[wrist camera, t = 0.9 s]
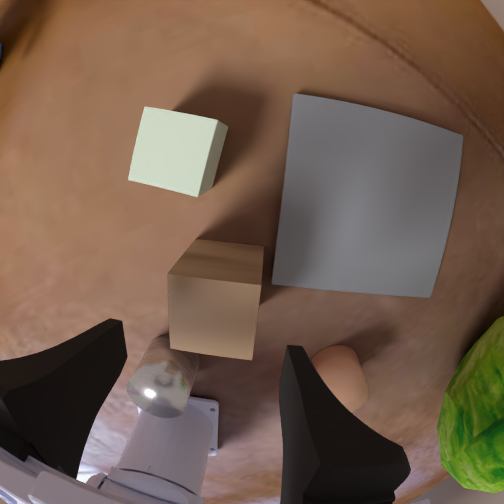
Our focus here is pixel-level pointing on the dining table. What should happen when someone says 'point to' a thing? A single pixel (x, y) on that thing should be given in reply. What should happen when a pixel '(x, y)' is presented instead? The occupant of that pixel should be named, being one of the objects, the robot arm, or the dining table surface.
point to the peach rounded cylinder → (342, 375)
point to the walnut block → (215, 298)
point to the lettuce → (476, 415)
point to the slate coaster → (364, 199)
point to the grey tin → (163, 379)
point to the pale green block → (177, 151)
